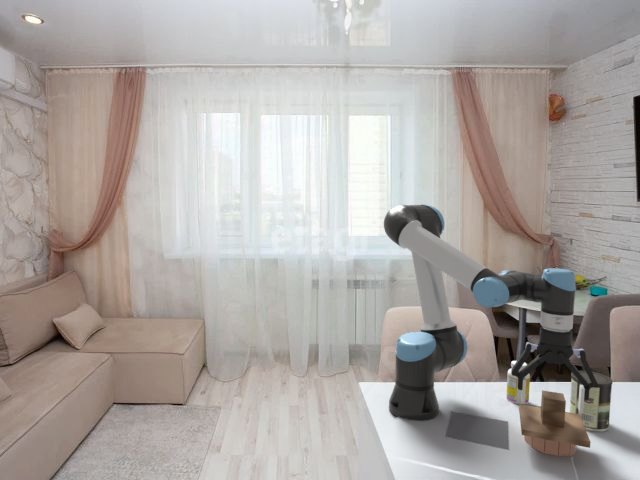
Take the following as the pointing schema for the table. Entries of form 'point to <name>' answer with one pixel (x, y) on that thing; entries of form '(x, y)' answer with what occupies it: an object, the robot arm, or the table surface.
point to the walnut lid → (553, 421)
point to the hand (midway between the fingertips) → (551, 406)
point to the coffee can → (593, 402)
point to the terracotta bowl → (550, 446)
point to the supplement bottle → (516, 386)
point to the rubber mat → (478, 430)
